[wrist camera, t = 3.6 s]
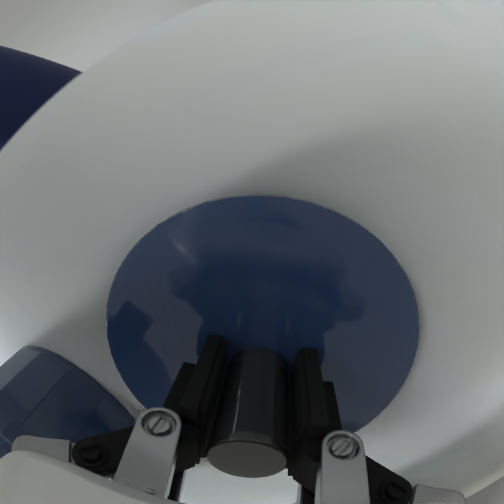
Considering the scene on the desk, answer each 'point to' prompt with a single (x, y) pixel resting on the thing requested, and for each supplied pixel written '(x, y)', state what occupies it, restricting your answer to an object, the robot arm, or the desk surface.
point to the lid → (263, 317)
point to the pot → (53, 400)
